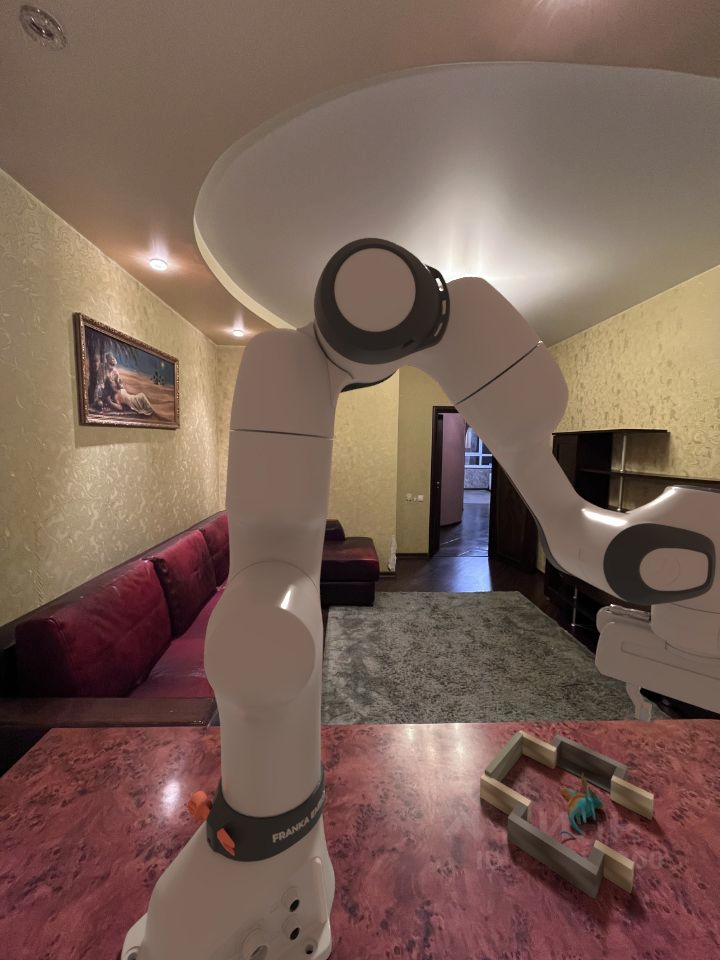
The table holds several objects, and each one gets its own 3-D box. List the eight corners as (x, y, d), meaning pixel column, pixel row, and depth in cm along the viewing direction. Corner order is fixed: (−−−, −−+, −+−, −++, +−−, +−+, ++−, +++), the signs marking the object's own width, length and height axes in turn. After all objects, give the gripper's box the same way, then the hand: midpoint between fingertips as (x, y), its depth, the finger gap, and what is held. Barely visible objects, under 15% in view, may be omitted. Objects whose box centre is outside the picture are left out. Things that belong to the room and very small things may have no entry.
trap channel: (657, 799, 60) (658, 777, 60) (623, 919, 44) (625, 889, 44) (528, 736, 73) (528, 717, 73) (467, 811, 58) (468, 788, 57)
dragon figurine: (629, 855, 51) (614, 786, 58) (572, 826, 52) (564, 762, 59) (598, 870, 54) (588, 803, 61) (546, 843, 55) (541, 780, 62)
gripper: (590, 607, 52) (586, 709, 53) (831, 665, 38) (820, 803, 39) (603, 595, 57) (599, 689, 58) (823, 642, 43) (813, 767, 44)
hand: (690, 736), depth 48 cm, fingers open, 8 cm apart
